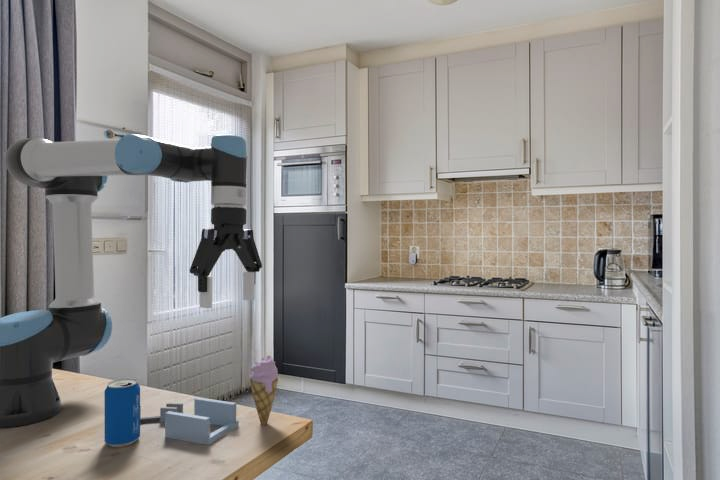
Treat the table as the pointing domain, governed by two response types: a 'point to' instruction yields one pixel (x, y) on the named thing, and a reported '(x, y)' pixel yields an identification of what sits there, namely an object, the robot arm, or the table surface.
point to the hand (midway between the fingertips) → (228, 303)
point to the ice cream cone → (264, 386)
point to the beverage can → (122, 412)
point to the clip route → (163, 413)
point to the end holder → (202, 421)
